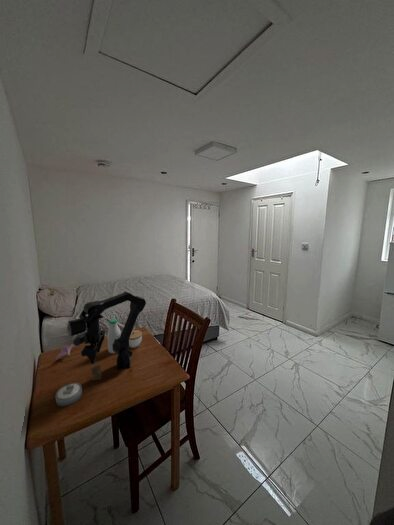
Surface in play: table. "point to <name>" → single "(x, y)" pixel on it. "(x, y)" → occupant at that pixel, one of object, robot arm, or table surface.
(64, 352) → the lily
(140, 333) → the lidded jar
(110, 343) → the milk bottle
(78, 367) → the table surface
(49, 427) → the table surface
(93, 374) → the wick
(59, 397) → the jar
